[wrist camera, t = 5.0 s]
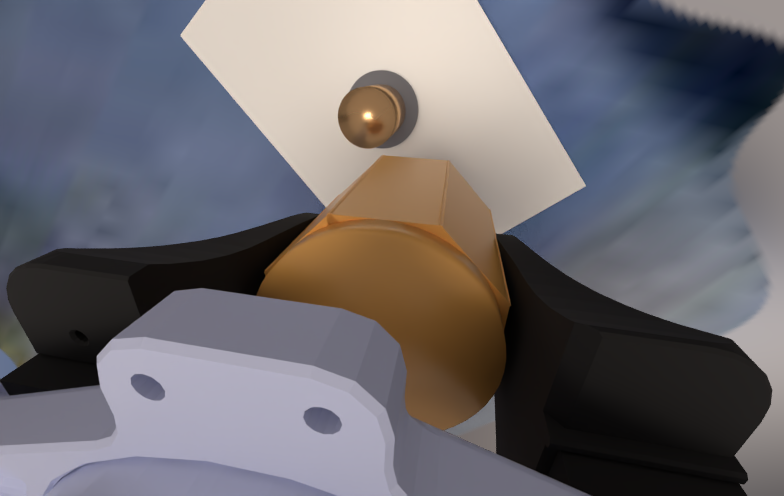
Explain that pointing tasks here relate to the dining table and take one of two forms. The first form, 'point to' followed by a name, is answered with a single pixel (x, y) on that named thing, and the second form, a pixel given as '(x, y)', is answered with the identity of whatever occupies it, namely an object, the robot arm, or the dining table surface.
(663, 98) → the dining table surface
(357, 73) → the plate
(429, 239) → the cap
